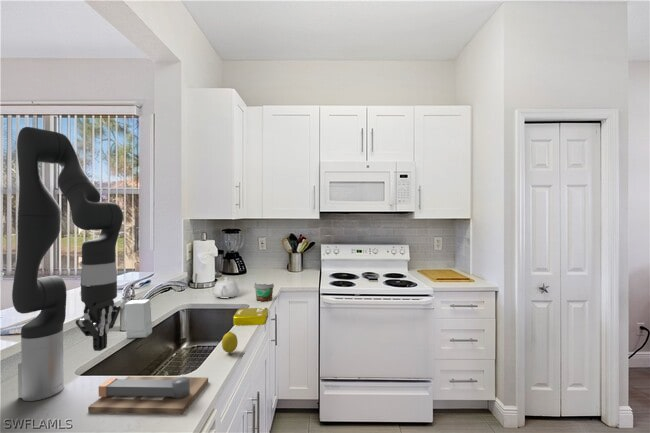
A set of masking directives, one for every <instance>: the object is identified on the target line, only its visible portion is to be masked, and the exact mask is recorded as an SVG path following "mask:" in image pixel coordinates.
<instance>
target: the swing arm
mask: <svg viewBox="0 0 650 433" xmlns="http://www.w3.org/2000/svg"><path fill="white" fill-rule="evenodd" d="M179 377H180V378H177V379H175V380H140V379H126V378H120V379H119V378H118V377H110V378H108V379H107V380H106V381H104V382H103V383H102V384H100V385H98V397H99V398H101V397H106V396H108V395H111V396H172V397H173V398H175V399H180V398H184V397H186V396H188V395H189V393H190V379H189V378H188V377H189V376H179Z"/></svg>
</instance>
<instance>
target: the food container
mask: <svg viewBox="0 0 650 433" xmlns="http://www.w3.org/2000/svg"><path fill="white" fill-rule="evenodd" d="M274 287H275V285H274V283H271V284H267V283H263V284H258V283H257V282H255V283H254V286H253V288H254V289H255V300H256V301H257V302H258V301H261V302H260V303H265V302H267V303H268V302H271V301H273V291H274Z"/></svg>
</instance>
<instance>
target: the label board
mask: <svg viewBox="0 0 650 433" xmlns="http://www.w3.org/2000/svg"><path fill="white" fill-rule="evenodd" d="M180 377H181V376H179V377H178V376H127V377H125V379H140V380H175V379H177V378H180ZM187 377H188V378H189V379H190V393H189V395H188V396H186V397H184V398H180V399H175V398H173V397H172V396H111V395H108V396H106V397H99V398H98V399H96V400H95V401H94V402H93V403H92V404H90V405H89V406H87V408H88V409H87V410H88V412H87V413H88V414H91V413H93V414H136V415H137V414H138V415H141V414H142V415H143V414H145V415H148V414H149V415H150V414H151V415H152V414H153V415H185V413H186V411H187V410H188V409H189V408H190V406H191V405H192V404H193V402H194V401H195V400H196V399H197V397H198V396H199V395H200V394H201V392H202V391H203V390H204V389H205V387H206V386H207V385H208V384H209V377H202V376H201V377H198V376H197V377H195V376H194V377H190V376H187Z"/></svg>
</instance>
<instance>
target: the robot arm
mask: <svg viewBox="0 0 650 433" xmlns="http://www.w3.org/2000/svg"><path fill="white" fill-rule="evenodd" d="M16 140H17V142H16V152H17V168H18V181H19V183H18V184H19V185H18V188H19V190H18V208H17V226H16V227H17V244H16V245H17V250H16V263H15V270H14V275H13V276H14V277H13V283H12V290H11V292H12V293H11V297H12V298H11V299H12V305H13V307H14V309H15V311H16V312H18V313H19V314H21V315H22V314H30V313H34V312H38V311H39V314H37V316H35V317H34V318H32V319H31V320H30V321H27V323H25V324H24V325H23V326H22V327H21V328H20V346H21V347H20V348H21V349H20V350H21V351H20V354H21V355H20V356H21V357H20V358H21V361H20V362H19V363H18V364H17V387H18V388H17V391H18V393H17V394H18V396H17V397H18V399H20V398H21V399H22V400H23V401H26V402H33V401H39V400H45V399H47V398H50V397H52V396H55V395H57V394H59V393H60V392H61V391H63V389H64V388H65V377H64V376H65V373H64V372H65V371H64V370H65V367H64V365H65V362H64V358H65V357H64V323H65V321H66V310H67V286H66V285H67V284H66V283H65V280H64V279H63V278H62V277H60V276H59V275H47V276H42V277H38V275H39V269H40V265H41V263H42V261H43V259H44V256H45V255H46V254H47V252H48V251H49V250H50V249H51V247H52V245H54V243H55V242H56V240H57V238H58V237H59V236H60V232H61V220H62V219H61V218H62V217H61V216H62V209H61V207H60V205H59V203H58V202H57V200H56V199H55V197H54V196H53V195H52V193H51V192H50V190H49V189H48V188H47V186H46V185H45V183H44V180H43V179H42V176H41V172H40V166H39V163H44V164H50V165H51V164H53V165H59V166H60V167H61V168H62V169H61V171H60V173H59V175H58V178H57V186H58V188H59V190H60V192H61V193H62V194H63V196H64V198H65V199H66V200H67V201H68V205H69V208H70V212H71V213H70V214H71V220H72V222H73V225H74V226H76V227H77V228H78V229H81V230H82V231H83V230H84V231H100V230H101V231H100V233H99V235H98V236H97V237H95V238H92V239H89V240H86V241H84V242H82V245H81V269H80V270H81V271H80V300H81V302H82V303H84V309H83V316H81V318H78V319H76V320H75V324H76V326H77V328H79V329H80V331H81V332H82V334H83V335H84V336H85V337H92V349H93V351H94V352H96V351H97V352H101V351H103V350H104V349H106V348H107V347H108V333H109V331H110V329H113V328H114V326H115V324H116V321H117V319H118V316H119V313H120V311H121V309H122V307H121V306H120V305H116V304H115V301H114V300H115V299H116V298H117V297H118V273H117V272H118V271H117V269H118V268H117V264H116V247H117V242H118V240H119V239H118V238H119V235H120V233H121V232H120V231H121V228H122V224H123V222H124V221H123V220H124V213H123V210H122V208H121V206H119V205H118V204H117V203H116V202H110V201H109V202H107V201H100V200H101V193H100V191H99V189H98V188H97V187H96V185H95V183H93V182H92V180H91V179H90V178H89V176H88V174H87V173H86V172H85V170H84V168H83V165H82V163H81V161H80V159H79V156H78V154H77V151H76V150H75V148H74V146H73V144H72V142H71V140H70V139H69V138H68V137H67V135H66V134H64V133H60V132H59V131H58V132H56V131H52V130H47V129H42V128H38V127H37V128H36V127H32V126H25V127H22V128H21V129H20V130H19V132H18V136H17V139H16Z"/></svg>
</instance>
